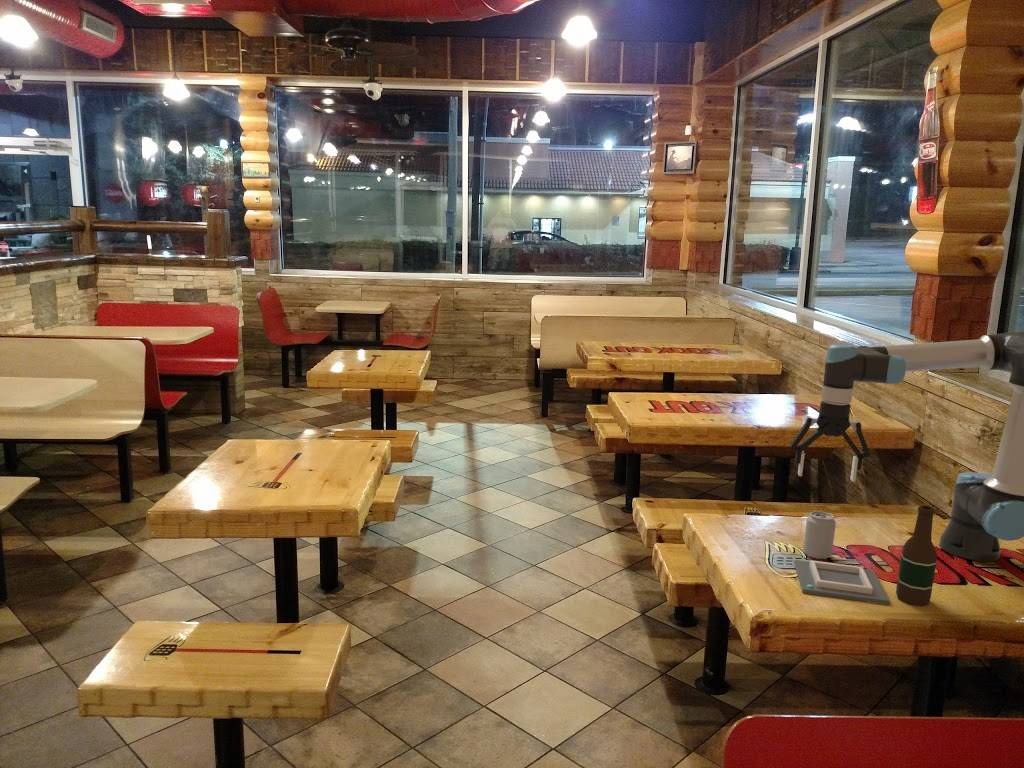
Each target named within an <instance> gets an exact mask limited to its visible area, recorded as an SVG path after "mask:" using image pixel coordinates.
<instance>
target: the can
mask: <svg viewBox="0 0 1024 768" xmlns="http://www.w3.org/2000/svg"><path fill="white" fill-rule="evenodd" d="M836 525H837V521H835V515H833V514H831V513H829V512H825V511H819V510H818V511H817V510H816V511H811V512H810V513H809V516H807V517H806V522H805V532H804V538H803V545H802V546H803V547H802V551H803V553H804V554H805V555H806V554H807V555H808V556H807V555H806V556H807V557H809V556H810V557H809V558H811V557H813V558H812V559H814V558H817V559H816V560H819V559H824V560H827V558H828V559H829V558H830V557H832V554H833V547H834V539H835V532H836Z"/></svg>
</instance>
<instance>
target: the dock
mask: <svg viewBox="0 0 1024 768" xmlns="http://www.w3.org/2000/svg"><path fill="white" fill-rule="evenodd" d="M794 564H795V566H794V568H796V569H795V573H796V575H797V576H796V577H797V579H798V582H799V586H800V589H801V593H802V594H810V595H817V596H823V597H824V596H825V597H830V596H831V597H830V598H837V597H838V599H839V598H840V599H846V600H852V601H861V602H866V601H870V602H869V603H874V602H877V603H876V604H881V603H883V605H888V604H889V605H890V602H891V600H890V598H889V597H888V595H887V593H886V590H885V589H884V587H883V585H882V584H881V581H880V579H879V577H878V576H877V574H876V572H875V570H874V569H866V568H863V566H858V565H857V566H856V565H850V564H842V563H835V562H827V561H826V562H825V561H821V560H819V561H818V560H812V559H811V560H809V561H805V560H799V559H798V560H797V559H794V560H793V565H794Z"/></svg>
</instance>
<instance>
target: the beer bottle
mask: <svg viewBox="0 0 1024 768" xmlns="http://www.w3.org/2000/svg"><path fill="white" fill-rule="evenodd" d="M917 511H918V513H917V517H916V522H915V527H914V530H913V533H912V535H911V536H910V537H909V538H908V539H907V540H906V541H905V543H904V545H903V546H902V550H901V556H900V562H899V568H898V574H897V583H896V589H895V590H896V591H895V593H896V594H895V595H896V596H897V599H898V600H899V601H901V602H903V603H905V604H907V605H911V606H917V607H923V606H927V604H928V605H929V604H930V602H931V598H932V591H933V585H934V580H935V573H936V567H937V560H938V559H937V557H938V554H937V550H936V548H935V545H934V544H933V541H932V531H933V521H934V515H935V513H936V511H935V509H934V507H932V506H929V505H920V506H918V507H917Z"/></svg>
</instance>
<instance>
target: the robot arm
mask: <svg viewBox="0 0 1024 768" xmlns="http://www.w3.org/2000/svg"><path fill="white" fill-rule="evenodd" d="M824 361H825V365H824V374H823V381H822V382H823V383H822V390H821V401H820V404H819V412H818V413H819V414H818V417H817V418H813V417H811V416H809V415H807V416H806V418H805V421H804V424H803V425H802V427H801V428H800V429H799V431H798V432H797V434H796V435H795V437H794V438H793V440H792V441H791V442H790V444H789V447H790V449H791V450H794V451H795V460H794V461H795V463H796V464H798V468H797V469H798V470H797V475H798V477H802V476H803V471H804V461H805V455H806V453H805V452H804V450H806V449H807V448H808V447H809V446H811V444H813V443H814V442H815V441H816V440H818V438H820V437H822V436H823V435H824V436H827V437H836V438H839V437H840V436H842V437H843V439H844V440H845V441H846V443H847V444H848V446H849V447H850V448H851V449H852V451H853V452H854V454H855V455H853V456H852V464H851V472H850V477H849V478H850V481H851V482H852V483H855V482H856V478H857V472H858V471H859V470H861V469H862V464H863V459H864V458H870V457H871V452H870V449H869V447H868V443H867V442H866V439H865V437H864V434H863V432H862V423H861V422H860V420H855V421H850V415H851V414H850V413H851V404H850V403H851V402H852V398H853V391H854V389H853V388H854V384H855V382H857V383H858V382H860V383H862V382H865V383H877V384H886V385H889V384H891V385H892V384H894V385H896V384H901V383H902V382H903V380H904V379H905V376H906V372H919V371H932V370H933V371H936V370H937V371H939V370H950V369H964V368H965V369H967V368H981V369H983V370H984V371H1004V372H1009V373H1010V377H1009V381H1008V385H1010V386H1011V388H1012V389H1013V393H1012V394H1011V395H1012V396H1011V399H1010V403H1009V407H1008V411H1007V416H1006V419H1005V423H1004V426H1003V430H1002V435H1001V439H1000V442H999V447H998V451H997V454H996V458H995V461H994V466H993V469H992V470H993V471H992V474H989V473H985V472H984V473H982V472H972V471H966V472H961V473H959V474H958V476H957V478H956V482H955V488H954V495H953V502H952V507H951V508H952V509H951V515H950V520H949V521H948V523H947V525H946V527H945V529H944V530H943V532H942V534H941V535H940V539H939V547H940V548H941V549H942V550H943V551H945V552H946V553H948V554H951V555H953V556H956V557H957V558H958V557H959V558H962V559H965V560H966V559H967V560H971V561H976V562H977V561H978V562H995V561H998V560H999V559H1000V557H1001V545H1000V540H1002V541H1007V542H1008V541H1009V542H1010V541H1017V540H1020V539H1022V538H1024V330H1023V331H1022V330H1021V331H1012V332H1004V333H995V334H984V335H981V337H979V338H978V339H966V340H965V339H964V340H953V341H952V340H951V341H941V342H940V341H938V342H937V341H936V342H925V343H923V342H922V343H912V344H911V343H910V344H897V345H883V346H882V345H881V346H880V345H879V346H867V345H854V344H853V345H852V344H845V343H832V344H829V346H828V347H827V352H826V357H825V360H824ZM815 424H816V425H817V426H818V427H817V428H815V430H814V432H812V433H811V434H810V435H809V436H808V437H807V438H806V439H804V440H803V438H804V437H805V436H806V434H807V432H808V431H809V430H810V428H811V427H812V426H814V425H815ZM850 427H851V428H852V430H853V431H855V434H856V437H857V439H858V441H859V444H860V447H861V448H862V451H860V450H859V449H858V447H857V446H856V444H855V443H854V441H853V440H852V438H851V437H850V436H849V435H848V434H847V432H846V431H847V430H848V429H849V428H850ZM802 440H803V441H802ZM801 441H802V442H801Z"/></svg>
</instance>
